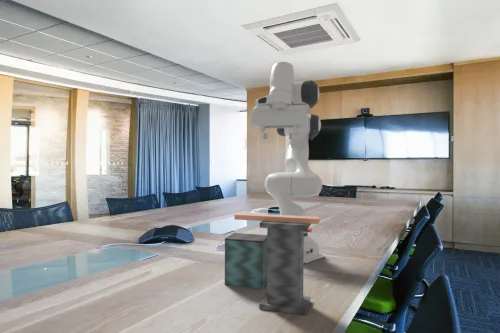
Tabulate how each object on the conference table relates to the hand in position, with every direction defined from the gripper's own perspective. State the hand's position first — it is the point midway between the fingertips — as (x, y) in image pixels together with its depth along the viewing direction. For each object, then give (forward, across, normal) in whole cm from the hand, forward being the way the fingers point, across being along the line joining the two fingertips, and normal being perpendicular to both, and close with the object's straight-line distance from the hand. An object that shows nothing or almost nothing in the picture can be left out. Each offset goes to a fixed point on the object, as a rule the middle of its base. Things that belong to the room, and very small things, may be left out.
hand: (277, 138), depth 122 cm
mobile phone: (+34, +36, -63) cm, 80 cm away
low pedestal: (+48, +11, -19) cm, 53 cm away
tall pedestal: (+54, -5, -4) cm, 54 cm away
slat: (+29, -2, +5) cm, 30 cm away
